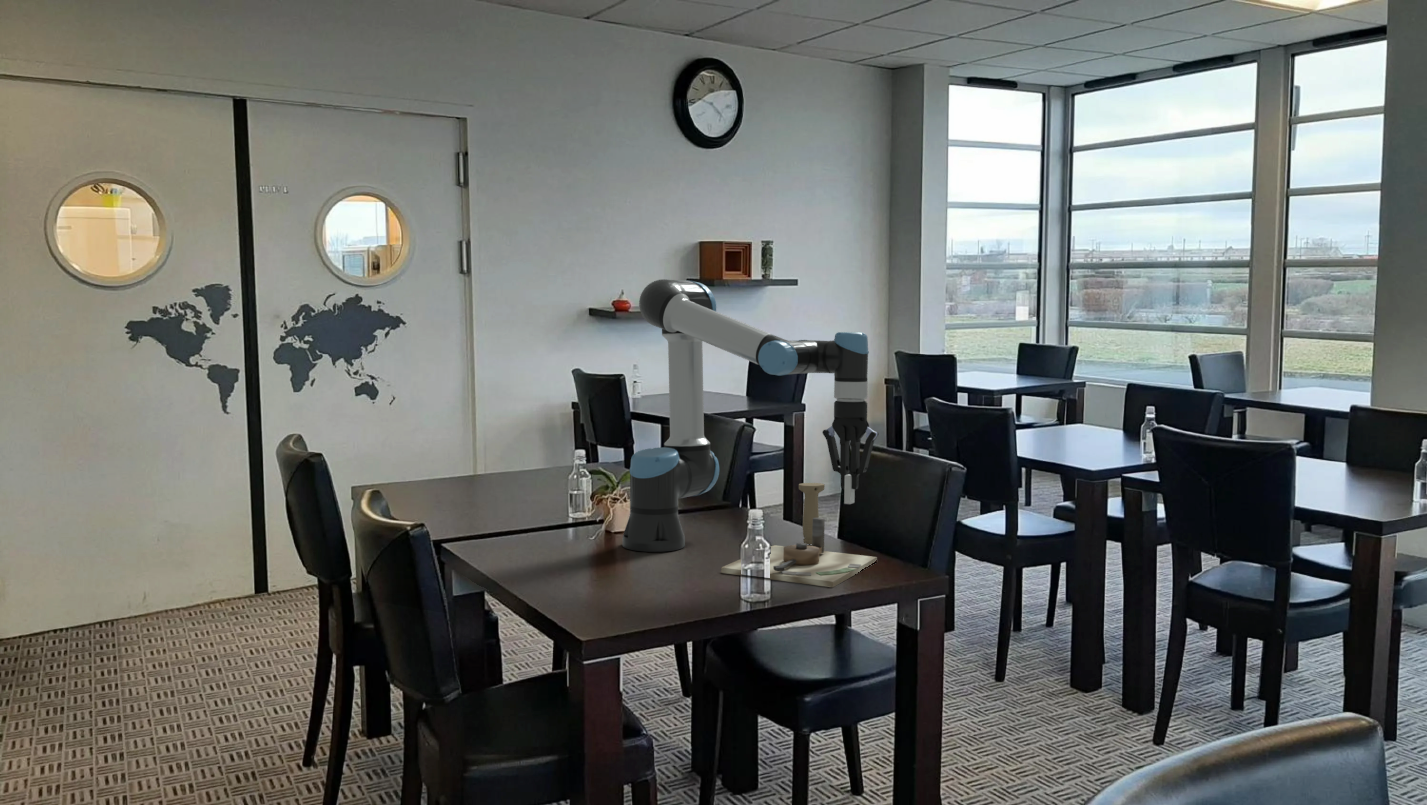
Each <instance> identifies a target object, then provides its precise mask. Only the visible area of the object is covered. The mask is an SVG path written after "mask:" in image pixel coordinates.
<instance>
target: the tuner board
mask: <svg viewBox="0 0 1427 805" xmlns="http://www.w3.org/2000/svg"><path fill="white" fill-rule="evenodd" d="M785 546H786V545H776V544H774V545H772V546H770V547H771V554H770V579H769V580H774V581H782V582H789V583H796V584H804V585H812V586H819V587H826V588H827V587H829V588H835V587H836V586H838V585H840V584H841V583H843V582H845V581H847V580H848V579H850V578H852V577H853V576H856V575H857V574H859V573H861V572H862V571H861V570H862V569H864V568H865V567H868V566H869V565H871V564H872V563H874V562H875V561H876V560H877V561H878V557H877V556H870V555H863V554H861V555H860V554H853V553H845V552H835V551H827V550H824V553H821V554H819V562H818V563H816V564H810V565H798V564H793V565H791V566H789V567H786V568H784V571H775V570H774V566H779V565H781V564H783V563H786V562H784V561H783V555H784V547H785ZM741 559H742V558H740V559H738V560H735V561H733V562H731V563H729V564H726V565H724V566H721V569H720V570H721V571H720V574H721V573H722V574H728V575H737V576H742V575H741ZM871 566H872V565H871ZM868 568H869V567H868ZM864 570H865V569H864ZM860 571H861V572H860ZM858 572H859V573H858ZM855 574H856V575H855Z"/></svg>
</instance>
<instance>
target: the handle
mask: <svg viewBox="0 0 1427 805" xmlns="http://www.w3.org/2000/svg"><path fill="white" fill-rule="evenodd" d="M825 485H826V484H824V483H820V482H804V483H803V482H802V483H799V484H798V490H799V491H801V492H802V493H804V499H803V500H804V503H803V514H802V536H803V543H806V544H812V524H813V518H820V517H819V516H820V514H819V494H820V493H821V492H823V491H824V490H825Z"/></svg>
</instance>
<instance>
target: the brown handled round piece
mask: <svg viewBox="0 0 1427 805" xmlns="http://www.w3.org/2000/svg"><path fill="white" fill-rule="evenodd" d="M825 522H826V519H825V518H824V517H819V518H813V524H812V545H807V544H806V543H804V542H798V543H797V542H796V544H791V545H790V544H789V545H784V546H785V547H784V555H783V561H784V562H786V563H783V564H781V565H779V566H774V570H775V571H784V568H786V567H789V566H791V565H793V564H798V565H810V564H816V563H818V562H819V554H821V553H824V551H825V530H826V529H825V524H826V523H825Z"/></svg>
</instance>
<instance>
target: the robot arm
mask: <svg viewBox="0 0 1427 805" xmlns="http://www.w3.org/2000/svg"><path fill="white" fill-rule="evenodd" d="M638 302H639V303H638V306H639V310H640V314H641V316H642V318H643V319H644V321H646V322H647V323H648V324H650V325H652V326H654V327H657V328H659V329H660V330H661V336H662V337H663V338H664V339H665V340H666V341H667V343H668V344H667V346H668V347H667V349H668V351H667V352H668V353H667V354H668V357H667V358H668V393H669V394H668V398H669V401H668V402H669V403H668V404H669V437H668V439H667V440H666V441H665V442H664V443H663V446H664V447H653V448H645V449H642V450H641V449H640V450H638V451H636V452H635V453H633V454H632V456H631V459H630V466H629V480H630V481H629V516H628V519H627V523H626V526H625V528H624V532H623V535H622V547H623V548H624V549H627V550H630V551H636V552H649V553H660V552H663V553H664V552H671V551H678V550H681V549H683V548H685V546H686V544H685V543H686V536H685V534H684V530H683V526H682V524H681V521H680V520H681V519H680V518H679V499H683V498H687V497H697V496H700V495H702V494H705V493H707V492H709V491H710V490H712V488H713V487H714V486H715V484H716V483H717V481H718V479H719V475H720V464H719V459H718V458H717V456H715V453H714V452H713V451H712V450H711V442H710V440H708V439H707V437H706V436H705V424H704V423H705V421H704V420H705V416H704V414H705V412H704V410H705V408H704V366H703V364H704V362H703V356H704V355H703V342H704V343H706V344H709V345H711V346H713V347H715V348H717V349H721V350H723V351H725V352H727V353H730V354H732V355H735V356H738V357H739V358H742V359H744V360H746V361H748V362H751V363H753V364H755V365H759V366H760V368H762V370H763V371H764V373H767V374H769V375H775V376H779V377H780V376H787V375H795V374H796V375H798V374H833V376H834V385H833V387H834V388H833V389H834V390H833V391H834V392H833V398H834V399H836V400H834V403H833V418H834V419H833V421H832V424H831V426H830V427H828V428H826V429H823V430H822V435H823V436H824V438H825V440H826V444H827V449H828V453H829V457H830V463H831V466H832V470H833V472H836V473H839V475H840V488H841V489H843V490H844V494H843V495H844V499H843V500H844V502H843V504H844V505H852V504H855V498H856V495H855V491H856V490H859V486H860V485H859V483H860V482H859V481H860V475H861V474H863V473H867V470H868V468H869V463H870V459H871V454H872V451H873V447H874V443H875V440H876V439H877V438H878V437H879V432H878V431H877V430H876V431H875V430H873V429H872V428H871V427H870V424H869V422H868V402H867V401H866V399H868V390H869V389H868V386H869V384H868V383H869V382H868V370H869V369H868V368H869V366H868V365H869V353H870V352H869V341H868V340H869V339H868V335H867V334H866V333H865V332H861V331H859V332H858V331H857V332H855V331H854V332H853V331H851V332H850V331H847V332H845V331H843V332H842V331H841V332H839V331H837V332H836V333H835V335H834V339H833V340H812V339H810V340H808V339H799V340H788V339H785V338H783V337H779V336H777V335H774V334H772V333H770V332H767V331H766V330H763V329H760V328H759V327H758V328H757V327H755V326H752V325H749V324H747V323H746V322H745V323H744V322H743V321H740V320H738V319H736V318H733V317H730V316H727V315H725V314H724V313H721V312H717V302H716V298H715V296H714V294H713V292H712V290H711V289H709V288H708V286H707V285H705V284H703V283H701V282H697V281H694V280H679V279H678V280H676V279H657V280H654V281H652V282H650V283H648V284H647V285H646V286H645V287H644V289H643V290H642V292H641V294H640V296H639V301H638ZM835 433H836V434H835ZM865 434H866V435H865ZM835 435H837V436H838V439H839V445H840V446H839V447H840V452H839V449H838V446H837V440H836V437H835ZM864 436H865V437H866V439H865V442H864V446H863V451H862V454H861V450H860V448H861V441H862V438H863V437H864ZM861 455H862V456H861ZM860 456H861V458H860Z"/></svg>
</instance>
